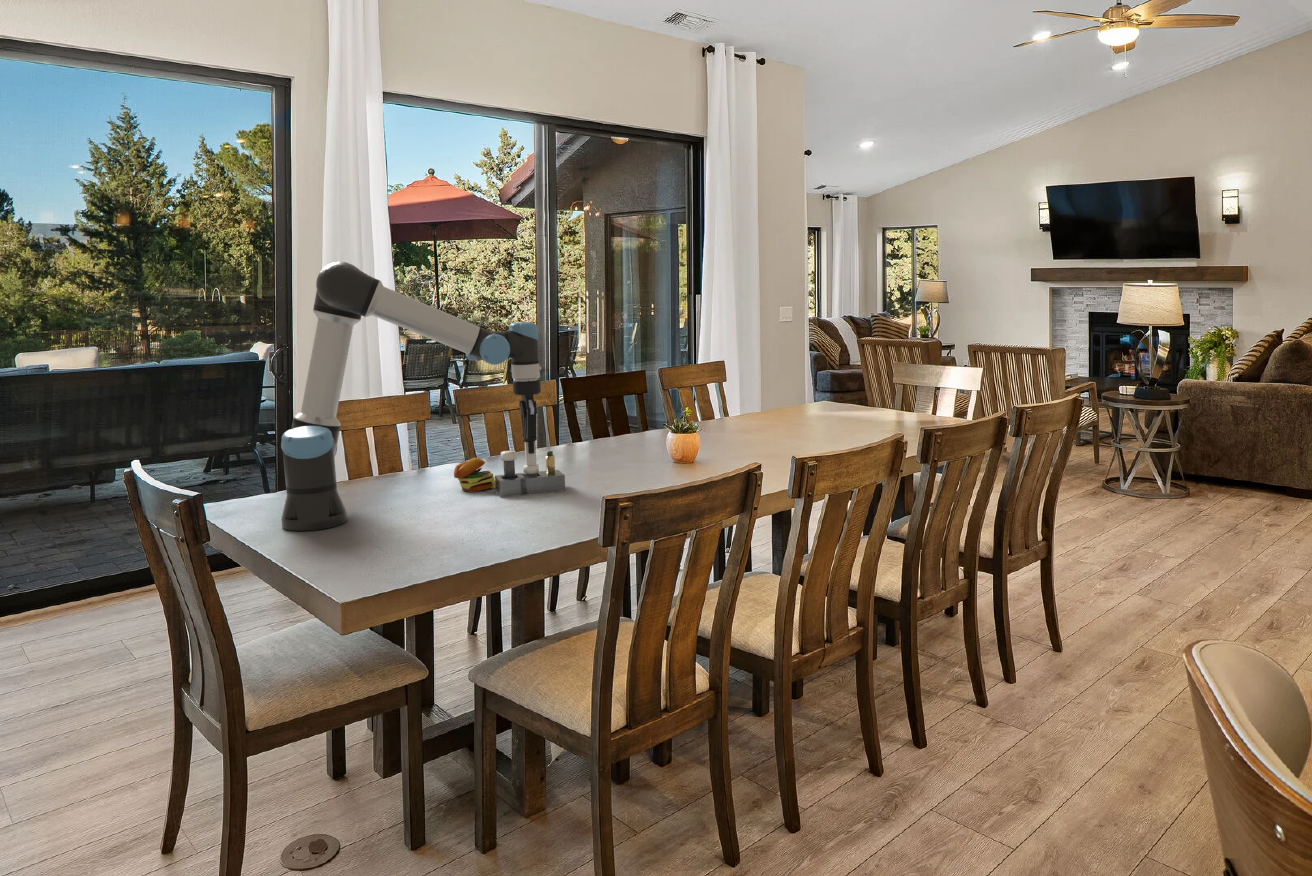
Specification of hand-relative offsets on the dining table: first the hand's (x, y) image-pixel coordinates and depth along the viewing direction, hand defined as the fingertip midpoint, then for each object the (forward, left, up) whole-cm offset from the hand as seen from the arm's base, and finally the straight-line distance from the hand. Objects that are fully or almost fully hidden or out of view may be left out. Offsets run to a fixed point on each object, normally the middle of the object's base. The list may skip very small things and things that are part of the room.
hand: (531, 464), depth 254 cm
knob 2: (0, 0, -7) cm, 7 cm away
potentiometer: (+5, 0, -3) cm, 6 cm away
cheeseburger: (-14, +10, -8) cm, 19 cm away
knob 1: (-6, 0, -3) cm, 7 cm away
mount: (-1, 0, -8) cm, 8 cm away
